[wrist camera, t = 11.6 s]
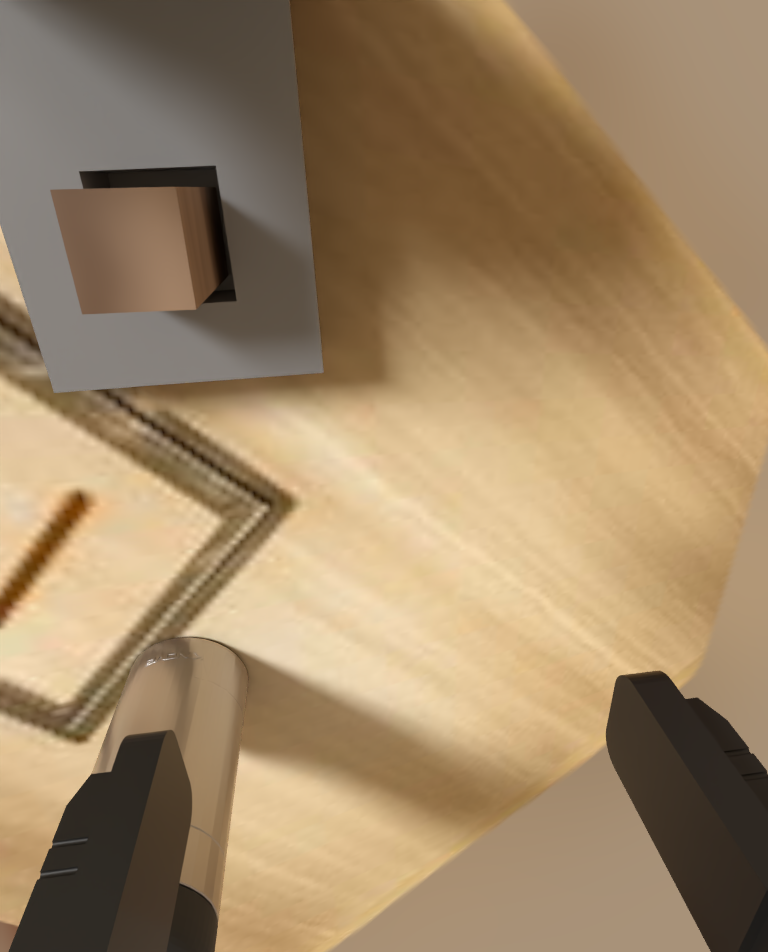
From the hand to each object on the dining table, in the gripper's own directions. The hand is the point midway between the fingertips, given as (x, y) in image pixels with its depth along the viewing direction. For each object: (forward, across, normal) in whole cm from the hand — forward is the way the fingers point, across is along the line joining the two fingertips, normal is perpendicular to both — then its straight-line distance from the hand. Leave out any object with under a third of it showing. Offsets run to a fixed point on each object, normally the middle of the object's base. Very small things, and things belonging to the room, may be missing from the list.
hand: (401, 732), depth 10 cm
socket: (+28, +8, -9) cm, 30 cm away
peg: (+27, +8, -7) cm, 29 cm away
